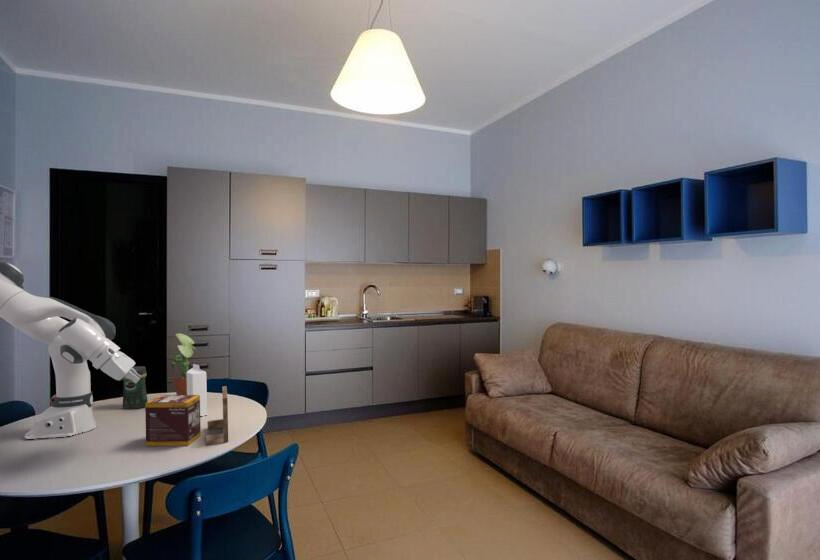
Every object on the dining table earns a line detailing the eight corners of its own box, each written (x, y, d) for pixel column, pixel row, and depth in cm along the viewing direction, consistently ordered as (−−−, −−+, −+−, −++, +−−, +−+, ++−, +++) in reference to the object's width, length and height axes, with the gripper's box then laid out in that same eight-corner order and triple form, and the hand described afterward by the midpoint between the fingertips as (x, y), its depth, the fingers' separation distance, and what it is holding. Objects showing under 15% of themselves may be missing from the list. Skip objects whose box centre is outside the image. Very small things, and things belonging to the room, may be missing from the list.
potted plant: (163, 407, 216) (161, 330, 216) (189, 398, 231) (187, 326, 230) (190, 410, 211) (188, 332, 210) (215, 401, 225) (213, 327, 224)
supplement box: (188, 446, 169) (187, 402, 169) (145, 446, 169) (144, 402, 169) (201, 435, 180) (200, 394, 179) (161, 436, 180) (160, 394, 179)
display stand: (206, 445, 170) (205, 400, 169) (207, 428, 187) (206, 388, 187) (228, 442, 172) (227, 398, 172) (227, 426, 190) (226, 386, 190)
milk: (193, 419, 200) (191, 366, 199) (187, 416, 204) (185, 364, 203) (207, 415, 204) (206, 364, 203) (201, 412, 208) (200, 362, 207)
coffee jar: (150, 404, 222) (149, 364, 222) (142, 409, 214) (141, 368, 214) (128, 404, 221) (127, 365, 221) (119, 410, 214) (118, 368, 213)
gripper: (105, 356, 175) (136, 380, 179) (91, 367, 156) (126, 393, 160) (119, 343, 176) (149, 367, 180) (107, 352, 157) (141, 379, 161)
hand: (138, 380), depth 170 cm, fingers closed
